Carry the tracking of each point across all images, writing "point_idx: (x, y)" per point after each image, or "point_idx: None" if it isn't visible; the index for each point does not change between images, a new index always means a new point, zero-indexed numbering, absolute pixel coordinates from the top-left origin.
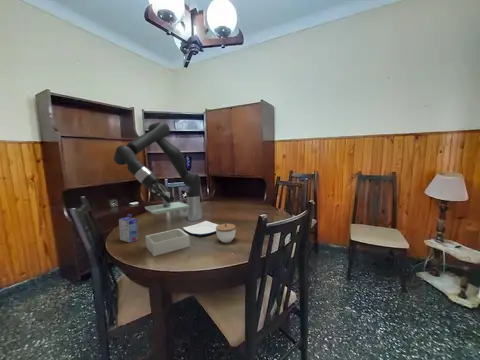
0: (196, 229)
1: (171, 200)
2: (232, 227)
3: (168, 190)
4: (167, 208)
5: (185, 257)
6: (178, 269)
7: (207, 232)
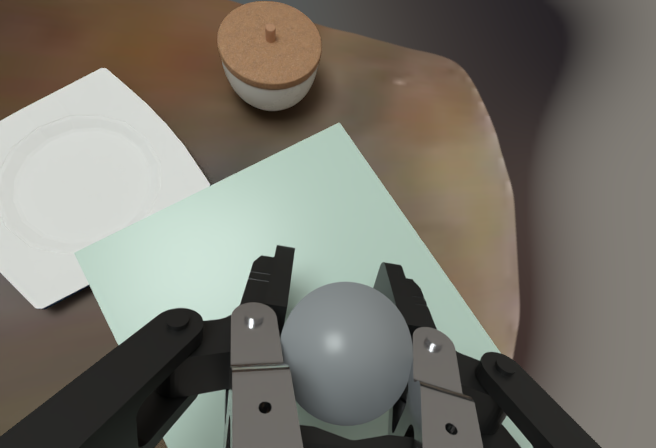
0: (59, 225)
1: (387, 263)
2: (294, 15)
3: (171, 340)
4: (433, 307)
5: (426, 242)
6: (515, 253)
7: (163, 158)
